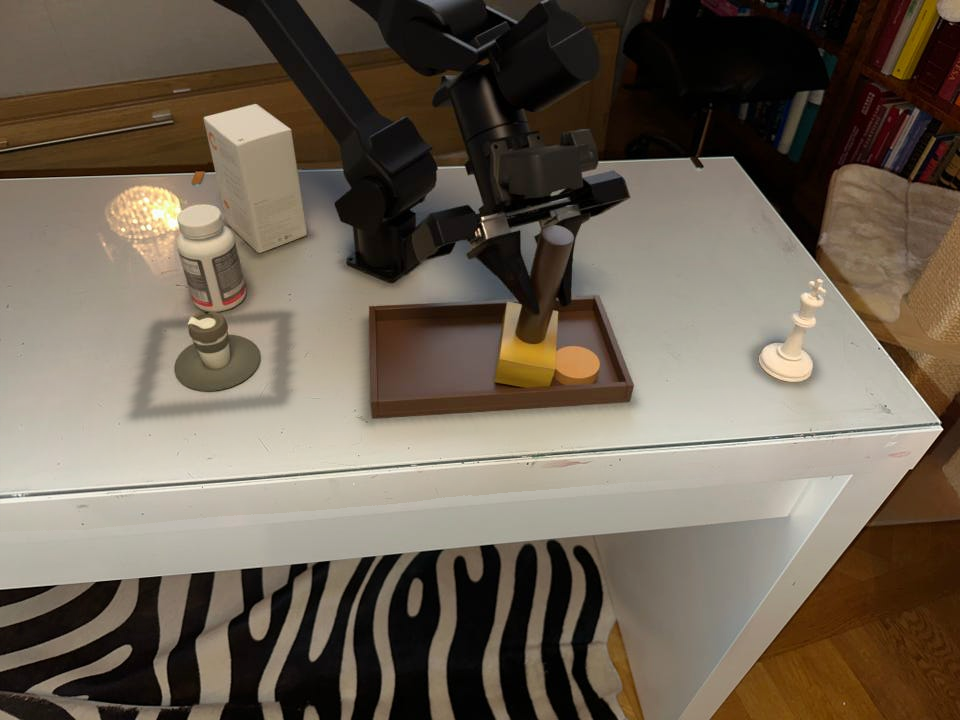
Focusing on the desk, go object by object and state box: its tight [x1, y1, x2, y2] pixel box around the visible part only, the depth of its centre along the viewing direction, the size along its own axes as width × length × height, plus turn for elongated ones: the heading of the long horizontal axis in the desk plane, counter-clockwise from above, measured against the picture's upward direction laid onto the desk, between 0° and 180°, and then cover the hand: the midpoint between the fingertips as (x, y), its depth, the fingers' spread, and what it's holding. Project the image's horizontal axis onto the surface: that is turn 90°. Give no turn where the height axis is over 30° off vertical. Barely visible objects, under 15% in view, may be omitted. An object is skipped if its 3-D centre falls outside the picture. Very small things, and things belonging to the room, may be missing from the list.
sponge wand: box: [494, 225, 574, 388], centre depth 66 cm, size 8×5×14 cm, turn 174°
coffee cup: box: [173, 311, 261, 392], centre depth 68 cm, size 12×12×5 cm
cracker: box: [553, 346, 600, 385], centre depth 69 cm, size 4×4×1 cm
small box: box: [203, 103, 308, 254], centre depth 82 cm, size 8×6×13 cm
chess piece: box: [758, 278, 828, 383], centre depth 69 cm, size 5×5×10 cm
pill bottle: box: [176, 203, 247, 313], centre depth 74 cm, size 5×5×10 cm
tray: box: [368, 294, 635, 419], centre depth 71 cm, size 23×13×2 cm, turn 97°
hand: (551, 311), depth 64 cm, fingers closed on sponge wand, 3 cm apart
